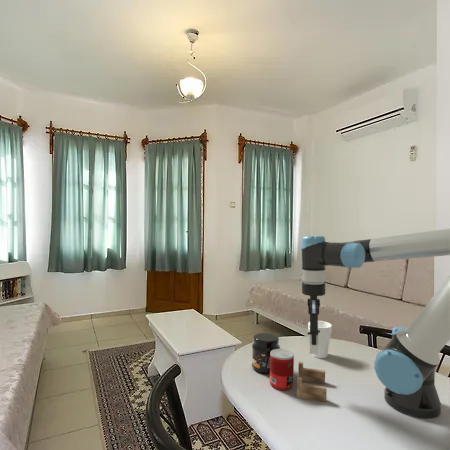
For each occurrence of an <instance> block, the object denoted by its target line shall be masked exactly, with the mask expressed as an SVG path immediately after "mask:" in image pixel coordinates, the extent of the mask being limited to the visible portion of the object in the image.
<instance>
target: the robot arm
mask: <svg viewBox="0 0 450 450" xmlns="http://www.w3.org/2000/svg"><path fill="white" fill-rule="evenodd" d="M300 250H301V271H300V272H299V275H301V280H302V283H301V293H302V294H303V295H304V296H309V298H307V307H308V310H307V311H308V315H309V322H310V332H309V331H307V335H308V336H309V335H310V336H309V355H312V354H317V355H318V333H320V330H318V321H319V320H318V318H319V315H320V307H321V301H320V298H318V297H322V296H325V295H326V283H325V282H327V281H326V266H328V267H329V266H332V267H340V268H348V269H351V268H352V269H353V268H357V269H358V268H361V267H363V265H364V263H374V262H385V261H395V260H396V261H397V260H409V259H421V258H431V257H446V256H450V228H444V229H437V230H431V231H430V230H428V231H423V232H415V233H414V232H413V233H406V234H399V235H392V236H383V237H376V238H371V239H370V238H369V239H358V240H353V241H345V242H330V241H326V238H325V236H323V235H305V236H303V237H302V239H301V248H300ZM449 341H450V275H449V276H448V277H447V278H446V279H445V281H444V282H443V283H442V285H441V286H440V287H439V288H438V290H437V291H436V293H435V294H434V295H433V296H432V297H431V298H430V300H429V301H428V302H427V303H426V304H425V306H424V307H423V308H422V310H421V311H420V312H419V314H418V315H417V316H416V317H415V319H414V321H412V323H411V324H410V325H409V326H408V327H407V326H406V327H405V326H395V327H393V328H392V332H391V339H390V340H389V341H388V343H387V344H386V345H385V347H384V348H383V349H382V350H381V351H380V352H379V351H378V353H377V354H376V358H375V359H374V363H373V364H374V372H375V374H376V376H377V379H378V380H379V381H380V382H381V384H382V385H383V386H385V388H384V397H383V398H384V401H385V402H386V403H387V404H388V405H389V406H390V407H391V408H393V409H394V410H396V411H398V412H400V413H402V414H404V415H407V416H411V417H414V418H420V419H432V418H433V419H434V418H437V417H439V416H440V414H441V411H442V410H441V409H442V405H441V404H442V403H441V400H440V397H439V394H438V391H437V389H436V385H435V375H436V373H435V372H436V368H437V366H439V365H440V362H441V360H440V356H439V353H440V352H441V351H442V349H443V348H444V347H445V346H446V345H447V344H448V343H449Z"/></svg>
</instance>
